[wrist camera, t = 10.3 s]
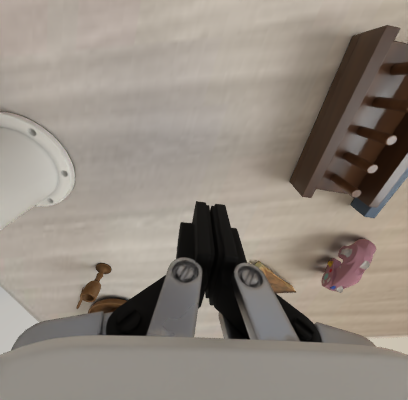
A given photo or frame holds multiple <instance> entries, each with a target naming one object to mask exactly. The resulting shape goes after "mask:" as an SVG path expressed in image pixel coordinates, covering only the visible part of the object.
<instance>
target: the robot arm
mask: <svg viewBox="0 0 408 400" xmlns="http://www.w3.org/2000/svg"><path fill="white" fill-rule="evenodd" d="M74 183H75V172H74V168H73V165H72V161H71V159H70V158H69V156H68V154H67V152H66V151H65V149H64V148H63V146H62V145H61V144H60V143H59V142H58V141H57V139H56V138H55V137H54V136H53V135H52V134H50V133H49V132H48V131H47V130H45V129H44V128H43V127H41V126H40V125H38V124H37V123H35V122H33V121H32V120H29V119H27V118H25V117H23V116H20V115H17V114H13V113H9V112H0V231H1V230H2V229H3V228H5V227H6V226H7V225H9V224H10V223H12V222H13V221H14V220H16V219H17V218H18V217H20V216H21V215H23V214H24V213H25V212H27V211H28V210H29V209H31V208H32V207H34V206H38V207H45V206H51V205H55V204H57V203H59V202H61V201H62V200H64V199H65V198H66V197H67V196H68V195H69V194H70V193H71V191H72V189H73V187H74ZM204 294H205V295H206V298H209V302H210V305H214V307H215V308H216V309H217V310H218V311H219V320H220V324H221V328H222V332H223V336H224V339H221V338H194V334H195V327H196V319H197V312H198V308H199V307H201V304H202V300H203V297H204ZM0 400H408V355H406V354H403V353H400V352H397V351H394V350H390V349H386V348H381V347H376V346H375V345H374V344H373V343H372V342H371V341H370V340H368V339H367V338H365V337H363V336H361V335H359V334H355V333H352V332H348V331H345V330H342V329H338V328H335V327H332V326H328V325H325V324H321V323H318V322H316V323H315V324H313V322H311V321H310V320H309V319H308V318H307V317H306V316H305V315H303V314H302V313H301V312H299V311H298V310H297V309H295V308H294V307H293V306H291V305H290V304H289V303H288V302H286V301H285V300H284V299H282V298H281V297H280V296H278V295H277V294H276V293H274V291H273V289H272V287H271V285H270V283H269V282H268V280H267V278H266V276H265V274H264V273H263V271H262V270H261V269H259V268H258V267H257V266H255V265H253V264H250V263H247V261H246V258H245V255H244V251H243V248H242V244H241V241H240V238H239V234H238V231H237V229H236V228H231V226H230V222H229V218H228V215H227V211H226V207H225V205H221V204H215V206H211V209H210V208H209V205H206V203H205V202H197V201H196V205H195V210H194V216H193V221H192V223H184V222H181V224H180V230H179V238H178V246H177V256H176V260H174V261H173V262H172V263H171V264H170V266H169V268H168V271H167V274H166V275H165V276H164V277H162V278H161V279H159V280H158V281H156V282H155V283H153V284H152V285H150V286H149V287H147V288H146V289H145V290H143V291H142V292H140V293H139V294H137V295H136V296H134V297H133V298H131V299H130V300H128V301H127V302H125V303H124V304H122V305H121V306H119V307H118V308H117V309H116V310H115V311H114V312H110V313H103V311H100V312H94V313H88V314H83V315H77V316H71V317H65V318H59V319H53V320H47V321H43V322H40V323H37V324H35V325H33V326H32V327H30V328H29V329H27V330H26V331H25V332H24V333H22V335H20V336H19V337H18V339H17V341H16V342H15V344H14V345H13V347H12V350H11V351H9V352H7V353H3V354H1V355H0Z"/></svg>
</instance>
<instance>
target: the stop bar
mask: <svg viewBox="0 0 408 400" xmlns="http://www.w3.org/2000/svg"><path fill="white" fill-rule="evenodd" d="M407 177H408V168H407V169H406V170H405V172H404V173H403V174H402V176H401V177H400V178H399V180H398V181H397V182H396V184H395V185H394V186H393V188H392V189H391V190H390V192H389V193H388V194H387V196H386V197H385V198H384V200H383V201H382V202H381V204H380V205H379V206H378V207H377V208H375V207H369V206H367V205H366V204H365V203H363V202H362V201H361V200H359V199H358V198H357V197H355V199H354V200H353V202H352V203H351V206H352V207H353V208H355V209H356V210H357V211H358V212H359V213H361V214H362V215H363V216H364V217H370V218H375V217H376V216H377V214H378V213H379V212H380V211H381V209H382V208H383V207H384V206H385V204H386V203H387V202H388V201H389V199H390V198H391V197H392V196H393V194H394V193H395V192H396V191H397V189H398V188H399V187H400V186H401V184H402V183H403V182H404V181H405V179H406V178H407Z"/></svg>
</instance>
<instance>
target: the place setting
mask: <svg viewBox="0 0 408 400" xmlns="http://www.w3.org/2000/svg"><path fill="white" fill-rule="evenodd" d="M96 270H97V271H98V272H99V273H98V274H97V276H96V279H95V280H94V281H91V282H89V283H88V284H87V285H86V287H85V288H84V287H83V288H84V290H83V289H82V293H81V295H80V298H81V299H80V301H79V303H78V305H77V309H78V308H79V307H80V305H81V302H82V300H84V301H86V302H93V301H95V299H96V298H97V296H98V294H99V291H100V289H101V284H100V283H99V281H100V279H101V278H102V277H103V274H108V273H110V272H111V267H110V266H109V265H107V264H104V263H100V264H98V265H96ZM125 302H127V301H126V300H123V299H115V298H110V299H103V300H100V301H98V302H96V303H95V304H93V305H92V306H91V308H90V309H89V311H88V313H94V312H100V311H103V313H110V312H114V311H115V310H116V309H117V308H118V307H119V306H121V305H122V304H124V303H125Z"/></svg>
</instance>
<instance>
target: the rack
mask: <svg viewBox="0 0 408 400" xmlns="http://www.w3.org/2000/svg"><path fill="white" fill-rule="evenodd" d="M399 30H400V28H398V27H393V26H389V25H386V26H383V27H380V28H376V29H373V30H370V31H367V32H363V33H361V34H357V35H354V36H353V37H352V39H351V42H350V44H349V46H348V48H347V51H346V53H345V55H344V58H343V60H342V62H341V64H340V67H339V69H338V71H337V74H336V76H335V78H334V81H333V83H332V85H331V87H330V90H329V92H328V94H327V97H326V99H325V101H324V103H323V106H322V108H321V110H320V113H319V115H318V117H317V120H316V122H315V124H314V126H313V129H312V131H311V133H310V136H309V138H308V140H307V143H306V145H305V147H304V149H303V152H302V154H301V156H300V159H299V161H298V163H297V165H296V168H295V170H294V172H293V175H292V177H291V179H290V183H291V184H292V185H293V186H294V188H295V189H296V190H297V191H298V192H299V194H300V195H301V196H302V197H308V198H311V197H312V196H313V194H314V192H315V190H316V189H320V190H326V191H333V192H339V193H346V194H349V195H351V196H352V197H357V198H358V199H359V200H361V201H362V202H363V203H365V204H366V205H367V206H369V207H375V208H377V207H378V206H379V205H380V204H381V202H382V201H383V200H384V198H385V197H386V196H387V194H388V193H389V192H390V190H391V189H392V188H393V186H394V185H395V184H396V182H397V181H398V180H399V178H400V177H401V176H402V174H403V173H404V172H405V170H406V169H407V168H408V44H406V43H402V42H397V41H394V40H395V38H396V36H397V34H398V32H399Z"/></svg>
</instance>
